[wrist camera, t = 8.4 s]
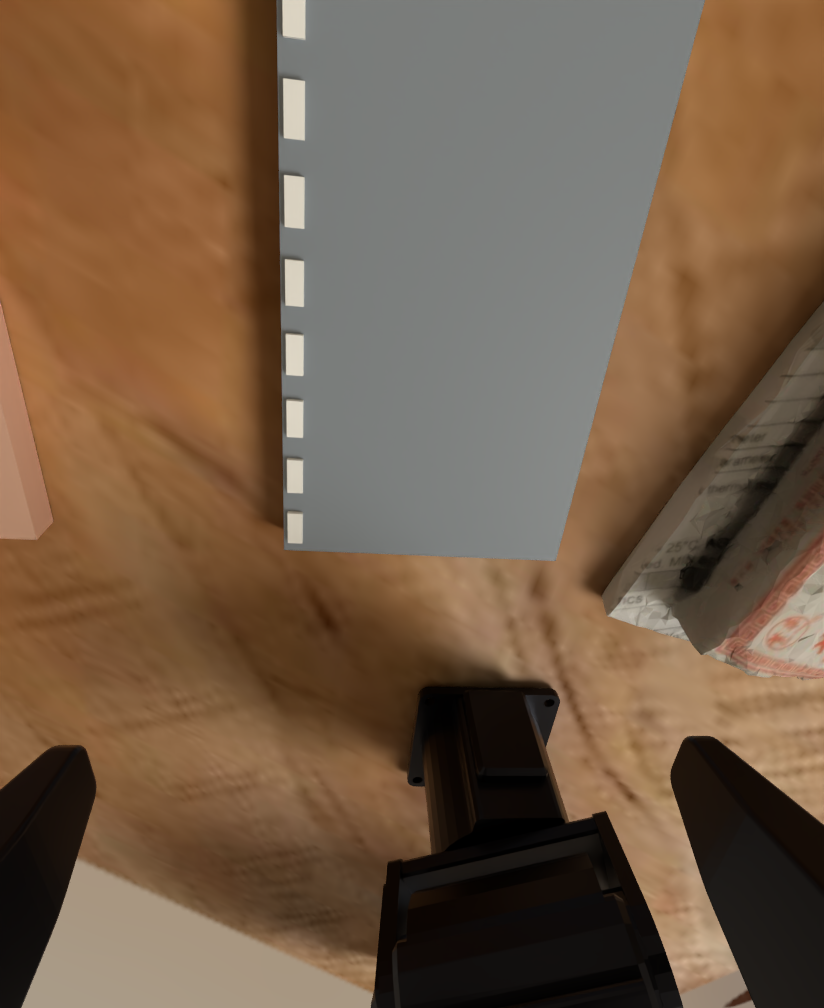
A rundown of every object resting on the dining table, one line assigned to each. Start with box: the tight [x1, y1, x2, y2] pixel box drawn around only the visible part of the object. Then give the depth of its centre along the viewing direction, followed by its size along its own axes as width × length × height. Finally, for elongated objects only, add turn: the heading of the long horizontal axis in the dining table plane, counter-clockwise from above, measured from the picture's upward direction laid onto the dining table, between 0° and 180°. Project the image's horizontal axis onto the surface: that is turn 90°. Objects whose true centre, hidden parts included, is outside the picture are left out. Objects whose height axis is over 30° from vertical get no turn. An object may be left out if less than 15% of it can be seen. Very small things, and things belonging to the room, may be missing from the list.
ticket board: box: [277, 0, 705, 561], centre depth 17 cm, size 18×10×1 cm, turn 174°
